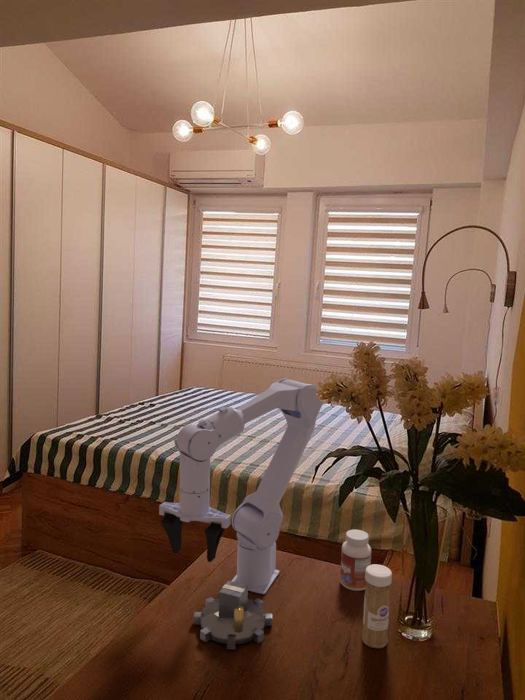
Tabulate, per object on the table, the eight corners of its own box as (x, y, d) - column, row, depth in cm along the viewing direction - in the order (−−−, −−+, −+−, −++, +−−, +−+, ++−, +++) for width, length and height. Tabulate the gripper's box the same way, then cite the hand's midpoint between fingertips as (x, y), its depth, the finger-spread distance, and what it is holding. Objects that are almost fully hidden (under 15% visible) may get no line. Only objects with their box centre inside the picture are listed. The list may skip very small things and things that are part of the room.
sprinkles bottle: (375, 653, 91) (380, 579, 89) (356, 638, 94) (360, 567, 93) (393, 643, 94) (397, 571, 92) (373, 629, 97) (377, 560, 96)
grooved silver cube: (227, 605, 100) (228, 580, 99) (247, 610, 98) (247, 585, 98) (218, 617, 96) (219, 591, 95) (238, 623, 94) (239, 596, 94)
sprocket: (177, 621, 97) (178, 593, 96) (235, 591, 107) (236, 565, 107) (230, 661, 87) (230, 630, 87) (288, 623, 97) (289, 596, 97)
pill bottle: (335, 577, 115) (338, 528, 113) (362, 574, 116) (364, 526, 115) (346, 593, 109) (348, 542, 107) (374, 590, 110) (377, 540, 109)
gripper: (150, 489, 100) (150, 556, 101) (219, 502, 95) (218, 573, 96) (170, 477, 106) (169, 541, 108) (235, 488, 101) (234, 555, 103)
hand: (193, 555), depth 102 cm, fingers open, 7 cm apart
